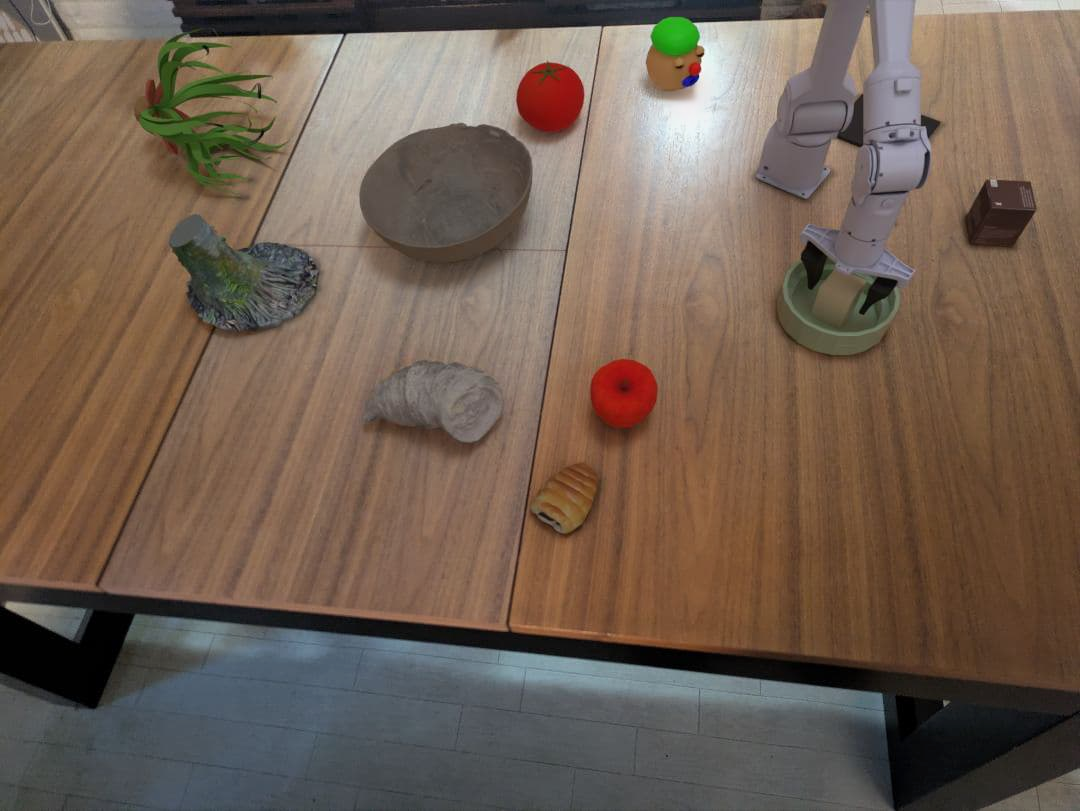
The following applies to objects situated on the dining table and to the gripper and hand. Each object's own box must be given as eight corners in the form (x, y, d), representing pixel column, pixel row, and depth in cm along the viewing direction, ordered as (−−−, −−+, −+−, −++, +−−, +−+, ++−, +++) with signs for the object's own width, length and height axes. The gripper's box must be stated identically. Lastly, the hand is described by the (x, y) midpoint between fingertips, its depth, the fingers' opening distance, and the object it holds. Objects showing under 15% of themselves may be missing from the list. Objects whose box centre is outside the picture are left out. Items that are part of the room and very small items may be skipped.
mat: (827, 134, 120) (828, 131, 120) (861, 96, 124) (862, 93, 124) (906, 165, 115) (908, 162, 114) (939, 124, 119) (941, 121, 118)
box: (1013, 248, 104) (1038, 210, 98) (968, 245, 105) (990, 208, 99) (1007, 218, 107) (1031, 180, 101) (964, 215, 108) (985, 178, 102)
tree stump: (318, 329, 110) (238, 260, 95) (212, 361, 115) (120, 301, 100) (324, 240, 118) (252, 163, 103) (226, 273, 124) (144, 205, 108)
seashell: (363, 425, 99) (338, 387, 91) (434, 356, 104) (418, 314, 96) (443, 489, 93) (425, 454, 84) (516, 412, 98) (506, 372, 89)
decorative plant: (193, 140, 146) (326, 139, 140) (122, 205, 129) (270, 208, 123) (127, 2, 127) (277, -5, 121) (35, 58, 111) (204, 53, 105)
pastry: (568, 458, 93) (566, 445, 90) (612, 483, 91) (611, 471, 88) (527, 514, 90) (524, 503, 87) (571, 542, 87) (570, 531, 84)
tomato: (596, 111, 130) (594, 57, 121) (561, 151, 125) (556, 99, 116) (544, 95, 134) (538, 42, 125) (509, 133, 129) (500, 81, 120)
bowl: (565, 187, 120) (560, 138, 111) (492, 307, 108) (481, 262, 100) (426, 154, 128) (412, 106, 120) (345, 261, 116) (323, 216, 108)
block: (809, 314, 101) (819, 287, 96) (825, 294, 102) (836, 266, 97) (839, 329, 99) (851, 302, 94) (854, 308, 101) (867, 280, 96)
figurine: (634, 85, 132) (636, 23, 122) (673, 63, 135) (677, 0, 124) (676, 113, 127) (681, 50, 117) (715, 89, 129) (723, 26, 119)
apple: (636, 452, 93) (637, 423, 86) (578, 424, 96) (575, 394, 89) (667, 401, 96) (670, 369, 90) (610, 376, 99) (610, 343, 93)
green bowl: (756, 323, 102) (762, 301, 97) (809, 258, 107) (817, 234, 103) (855, 375, 96) (866, 354, 91) (907, 304, 101) (919, 280, 97)
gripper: (796, 220, 88) (776, 291, 99) (909, 271, 82) (874, 340, 94) (825, 187, 90) (802, 261, 102) (936, 234, 85) (899, 306, 96)
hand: (838, 297), depth 98 cm, fingers open, 7 cm apart
